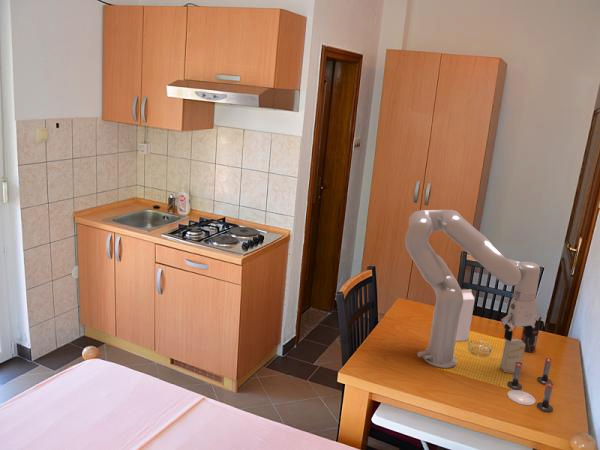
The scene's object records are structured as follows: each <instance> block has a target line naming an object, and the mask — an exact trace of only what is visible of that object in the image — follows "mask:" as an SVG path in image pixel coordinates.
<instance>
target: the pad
mask: <svg viewBox="0 0 600 450" xmlns="http://www.w3.org/2000/svg"><path fill="white" fill-rule="evenodd" d="M507 397H508V398H509V400H511V401H512V402H514V403H516V404H519V405H523V406H533V405H535V404H536V398H535V397H534V396H533V395H532V394H530V393H529V392H526V391H524V390H515V389H512V390H511V389H510V390H509V391H507Z"/></svg>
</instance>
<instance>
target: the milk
mask: <svg viewBox="0 0 600 450" xmlns="http://www.w3.org/2000/svg"><path fill="white" fill-rule="evenodd" d="M461 290H462V293H463V305H462V309H461V312H460V317H459V322H458V329H457V335H456V342H460V341H464V342H465V341H468V340H469V336H470V331H471V330H470V329H471V325H472V324H471V323H472V317H473V311H474V308H475V307H474V306H475V301H476V300H475V297H474V295H473V293H472V291H473V290H472V289H471V288H469V289H461Z"/></svg>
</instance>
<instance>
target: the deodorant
mask: <svg viewBox="0 0 600 450" xmlns="http://www.w3.org/2000/svg"><path fill="white" fill-rule="evenodd" d="M541 321H542V317H541V316H540V318H539V320H538V322H537V324H536V325H535V328H533V334H532V338H529V337H527V336H525V335H524V333H525V327H526V326H523V328H522V333H521V337H520V340H522V341H523V342H524V343H525V350H524V353H530V354H534V353H535V352H536V347H537V342H538V337H539V332H540V326H541Z"/></svg>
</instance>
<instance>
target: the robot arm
mask: <svg viewBox="0 0 600 450" xmlns="http://www.w3.org/2000/svg"><path fill="white" fill-rule="evenodd" d="M432 232H443V233H444V234H445V235H446V236H448V238H449V239H451V240H452V241H453V242H455V243H456V244H457V245H458V246H459V247H460V248H462V249H463V250H464V251H465V252H466V253H467V254H469V256H470V257H472V259H474V260H475V261H476V262H478V263H479V264H480V265H481V266H482V267H483V268H484V269H485V270H486V271H487V272H489V273H490V274H491V275H492V276H494V278H496V279H497V281H499V282H501V284H503V285H506V286H507V287H512V286H514V288H513V289H514V290H513V293H512V298H511V300H510V302H509V307H508V312H507V315H506V316H504V317H503V318H501V320H500V321H501V324H502V325H501V326H503V328H504V329H505V330H504V335H503V338H504V339H505V340H506V339H507V340H508V341H511V340H512V339H513V332H514V331H513V330H514V328H522V327H524V326H526V327H525V333H524V335H525V336H527V337H529V338H532V334H533V328H535V325H536V324H537V322H538V320H539V318H540V317H541V316H540V314H538V301H537V299H536V298H537V291H538V287H539V286H538V285H539V280H540V273H541V266H539V264H537V263H536V262H533V261H532V262H531V261H519V260H514V259H510V258H506V256H504V255H503V254H502V253H501V252H500V251H499V250H498V249H497V248H496V247H495V246H494V245H493V243H492V242H491V241H490V240H489V239H488V238H487V237H486V236H485V235H484V234H483V233H481V232H480V231H479V230H478V229H476V228H475V227H474V226H473V225H472V224H471V223H470V222H469V221H468V220H466V219H465V218H464V217H463V216H462V215H461V214H460V212H458V211H456V210H455V209H421V210H416V211H414V212H412V213H411V215H409V218H408V228H407V231H406V233H405V235H404V237H405V238H404V245H405V249H406V251H407V253H408V255H409V256H410V258H411V260H412V261H413V263H414V264H415V266H416V267H417V270H418V271H419V272H420V275H421V276H422V278H423V279H424V280H425V282H427V283H428V284H429V285H430V286H431V288H432V290H433V291H434V293H435V298H436V299H435V305H434V309H433V315H432V321H431V322H432V323H431V330H430V335H429V336H430V337H429V343H428V347H425V350H423V351H417V352H416V354H417V357H418V358H421V357H422V359H423V360H424V361H425V362H426V363H427V364H429V365H431V366H433V367H437V368H443V369H451V368H454V367H455V366H456V365H457V361H458V360H457V359H456V357H455V356H454V354H455V348H456V342H457V341H456V335H457V329H458V322H459V317H460V312H461V309H462V305H463V293H462V290H463V289H462V288H461V287H460V283H459V282H458V281H457V279H456V277H455V276H454V275H453V272H452V271H451V270H450V268H449V267H448V265H447V264H446V262H445V260H444V259H443V258H442V257H441V256H440V255H439V254H436V252H435V250H434V248H433V246H431V244H430V243H429V239H430V236H431V234H432Z"/></svg>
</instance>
